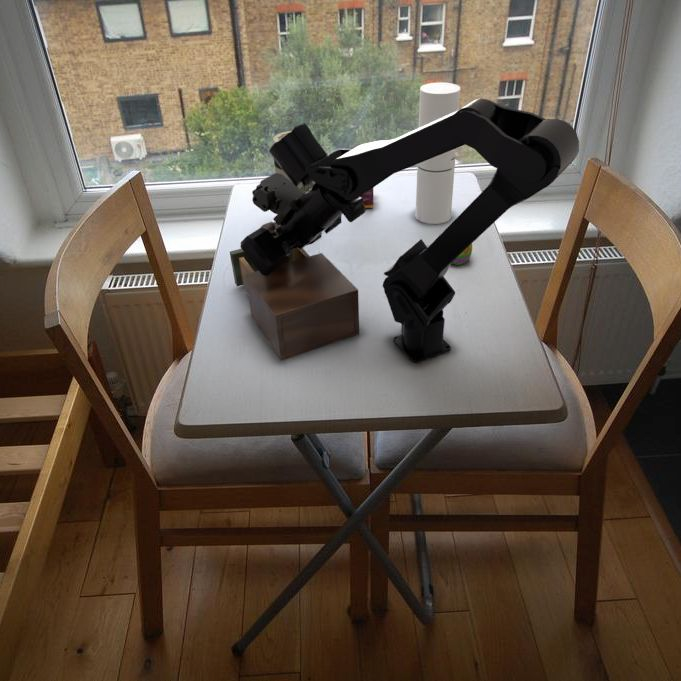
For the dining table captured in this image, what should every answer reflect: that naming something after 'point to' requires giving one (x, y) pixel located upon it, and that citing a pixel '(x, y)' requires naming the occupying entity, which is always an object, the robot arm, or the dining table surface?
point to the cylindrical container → (438, 170)
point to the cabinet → (303, 305)
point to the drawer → (245, 265)
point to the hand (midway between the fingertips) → (268, 255)
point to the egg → (463, 256)
